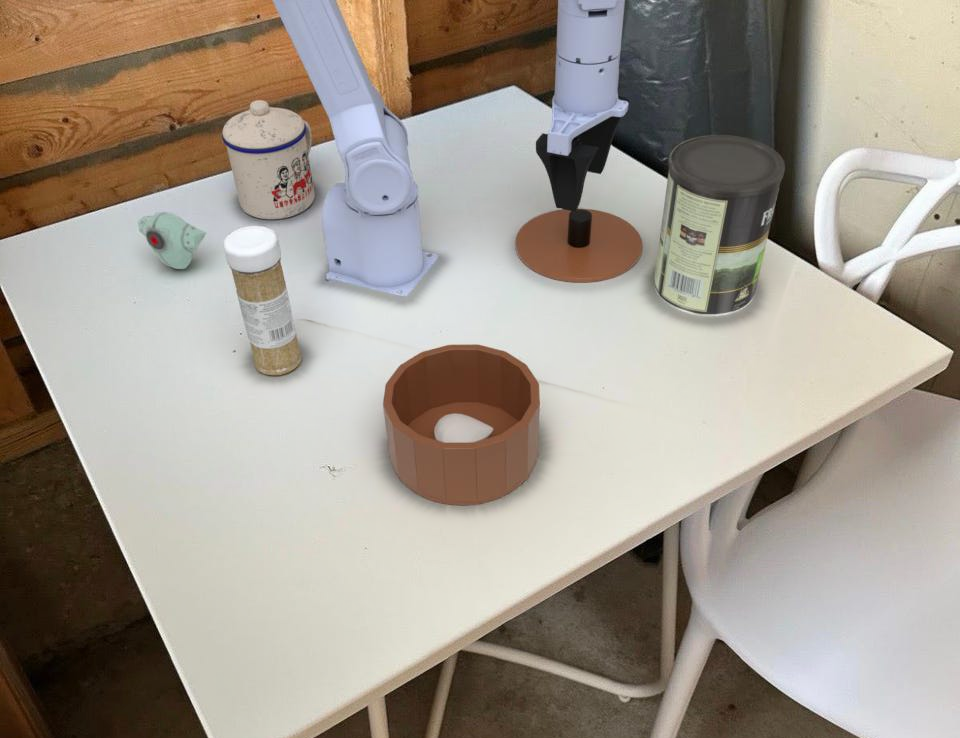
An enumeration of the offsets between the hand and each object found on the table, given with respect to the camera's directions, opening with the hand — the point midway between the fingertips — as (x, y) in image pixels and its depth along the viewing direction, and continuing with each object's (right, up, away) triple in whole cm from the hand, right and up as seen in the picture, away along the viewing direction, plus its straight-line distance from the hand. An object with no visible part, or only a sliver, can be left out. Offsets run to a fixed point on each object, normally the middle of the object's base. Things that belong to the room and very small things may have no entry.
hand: (579, 188), depth 93 cm
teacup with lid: (-33, +4, +16) cm, 36 cm away
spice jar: (-29, -18, -5) cm, 35 cm away
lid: (0, -4, +6) cm, 7 cm away
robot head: (-42, -7, +6) cm, 43 cm away
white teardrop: (-11, -26, -14) cm, 32 cm away
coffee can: (+13, -10, +1) cm, 16 cm away
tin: (-11, -26, -14) cm, 32 cm away
